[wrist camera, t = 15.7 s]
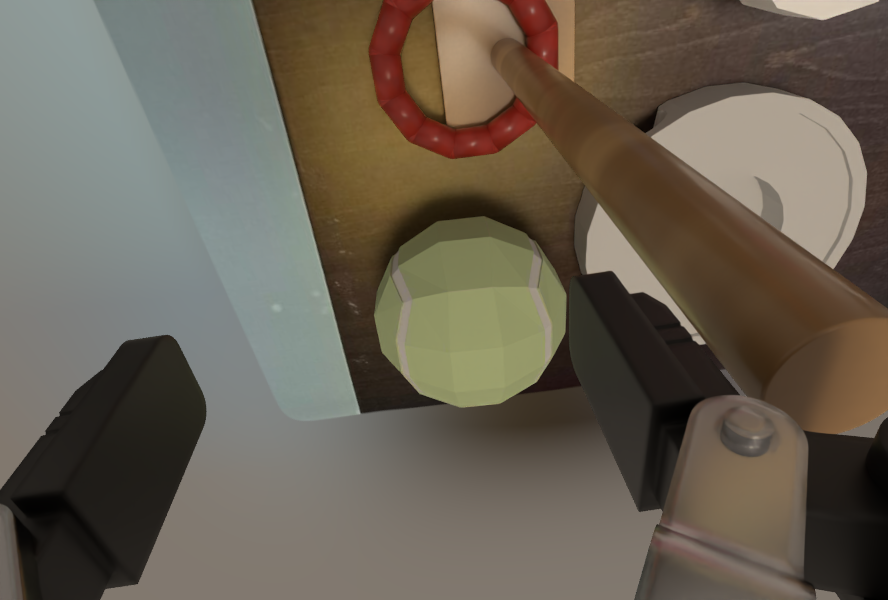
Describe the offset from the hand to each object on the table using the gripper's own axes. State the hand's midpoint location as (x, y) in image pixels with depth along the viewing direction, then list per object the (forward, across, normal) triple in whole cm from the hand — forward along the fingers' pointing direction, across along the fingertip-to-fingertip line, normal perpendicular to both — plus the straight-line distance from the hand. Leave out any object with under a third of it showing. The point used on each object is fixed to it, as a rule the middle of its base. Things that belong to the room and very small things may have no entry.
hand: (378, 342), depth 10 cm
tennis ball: (+35, -4, +18) cm, 40 cm away
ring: (+32, -5, 0) cm, 33 cm away
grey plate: (+34, -26, +16) cm, 46 cm away
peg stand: (+35, -9, 0) cm, 36 cm away
